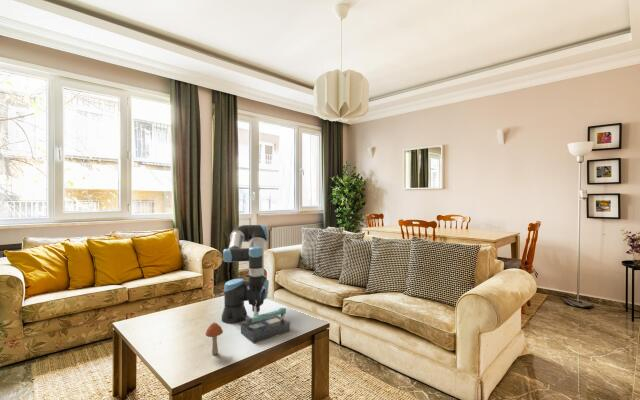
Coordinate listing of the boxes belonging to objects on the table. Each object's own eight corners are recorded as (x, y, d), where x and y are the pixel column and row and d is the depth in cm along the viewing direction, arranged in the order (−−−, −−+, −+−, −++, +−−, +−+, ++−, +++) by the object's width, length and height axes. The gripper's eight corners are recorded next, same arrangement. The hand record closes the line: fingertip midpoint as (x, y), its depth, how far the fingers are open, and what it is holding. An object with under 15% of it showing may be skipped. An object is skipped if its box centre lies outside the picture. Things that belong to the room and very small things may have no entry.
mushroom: (208, 349, 159) (207, 319, 159) (224, 349, 160) (224, 318, 160) (203, 358, 151) (203, 326, 151) (221, 357, 152) (220, 325, 152)
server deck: (240, 333, 178) (240, 319, 178) (277, 322, 192) (277, 309, 192) (253, 343, 166) (253, 328, 166) (291, 331, 180) (291, 317, 180)
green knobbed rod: (283, 312, 188) (283, 307, 188) (287, 314, 185) (287, 309, 185) (245, 322, 173) (245, 317, 173) (248, 325, 170) (248, 319, 170)
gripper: (241, 275, 179) (242, 318, 179) (263, 277, 175) (263, 321, 175) (248, 272, 186) (249, 313, 186) (269, 274, 182) (269, 316, 182)
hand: (256, 317), depth 181 cm, fingers closed
